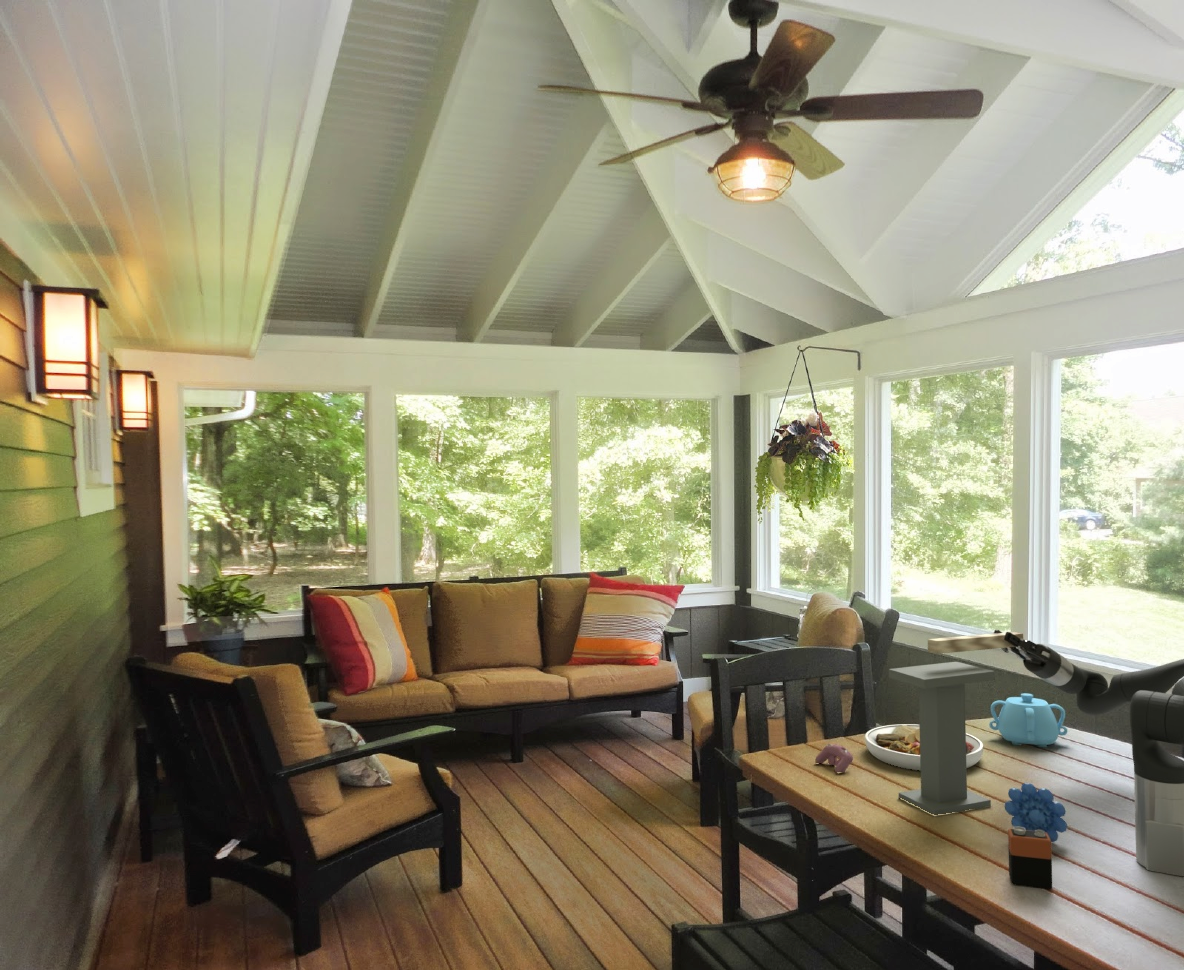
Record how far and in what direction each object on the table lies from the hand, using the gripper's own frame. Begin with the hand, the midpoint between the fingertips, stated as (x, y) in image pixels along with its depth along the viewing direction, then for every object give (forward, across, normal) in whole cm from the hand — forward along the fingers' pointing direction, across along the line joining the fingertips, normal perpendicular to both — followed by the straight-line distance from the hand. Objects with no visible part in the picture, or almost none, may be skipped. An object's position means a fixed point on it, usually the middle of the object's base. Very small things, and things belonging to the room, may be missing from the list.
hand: (1000, 634), depth 207 cm
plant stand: (-3, -1, -42) cm, 42 cm away
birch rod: (+5, 0, -6) cm, 8 cm away
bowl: (-19, +28, -33) cm, 47 cm away
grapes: (-4, -26, -42) cm, 49 cm away
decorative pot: (-50, +27, -14) cm, 59 cm away
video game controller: (+5, +30, -46) cm, 55 cm away
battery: (+9, -38, -50) cm, 64 cm away
